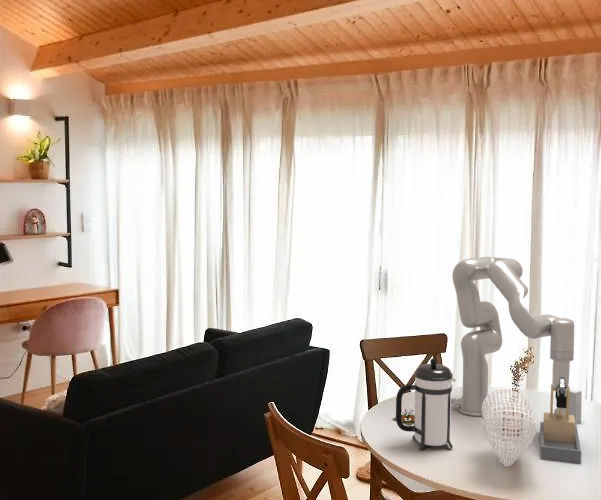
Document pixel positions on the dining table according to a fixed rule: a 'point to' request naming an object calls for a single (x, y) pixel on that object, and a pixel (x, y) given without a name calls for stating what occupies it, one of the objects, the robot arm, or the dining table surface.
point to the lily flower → (407, 417)
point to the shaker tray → (560, 449)
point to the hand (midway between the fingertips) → (560, 403)
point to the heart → (530, 426)
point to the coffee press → (429, 405)
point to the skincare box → (575, 404)
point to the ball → (558, 412)
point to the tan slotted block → (560, 408)
